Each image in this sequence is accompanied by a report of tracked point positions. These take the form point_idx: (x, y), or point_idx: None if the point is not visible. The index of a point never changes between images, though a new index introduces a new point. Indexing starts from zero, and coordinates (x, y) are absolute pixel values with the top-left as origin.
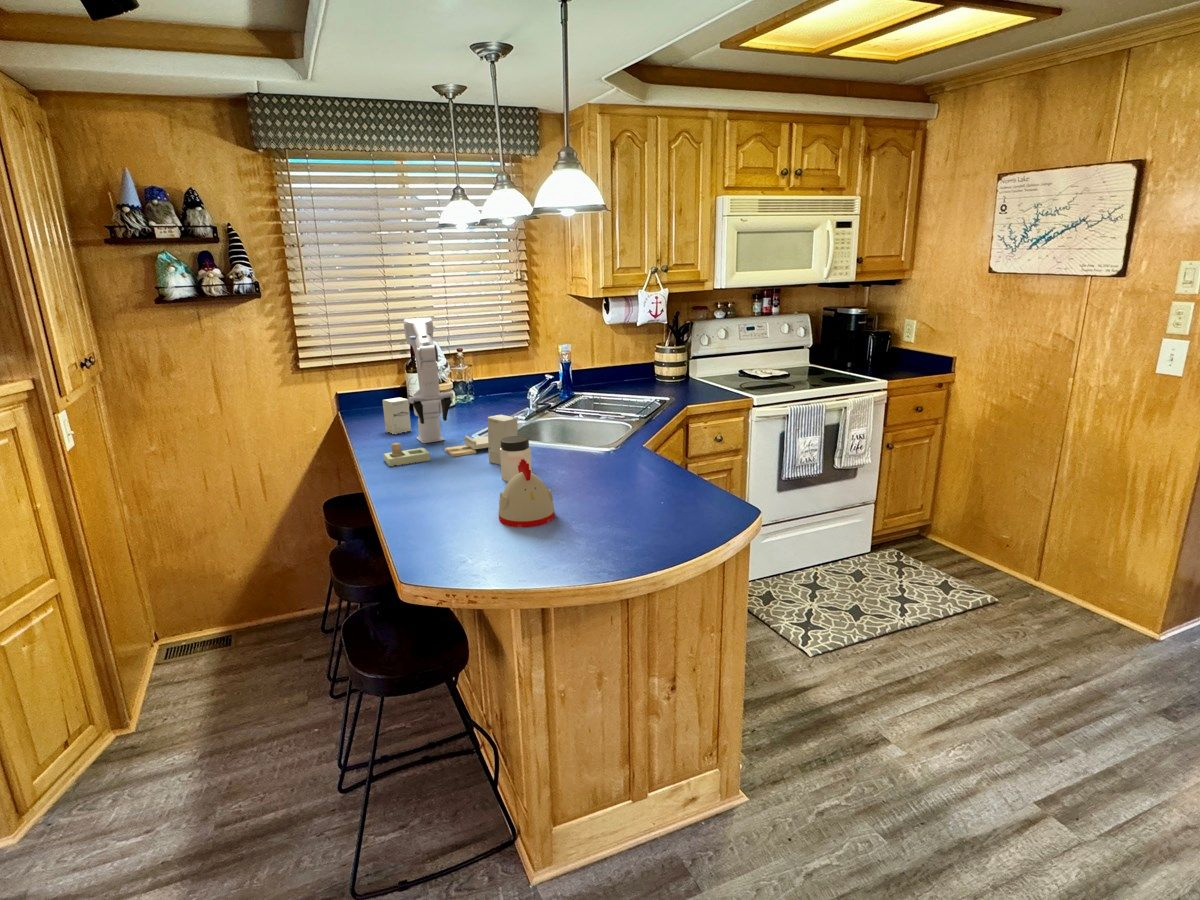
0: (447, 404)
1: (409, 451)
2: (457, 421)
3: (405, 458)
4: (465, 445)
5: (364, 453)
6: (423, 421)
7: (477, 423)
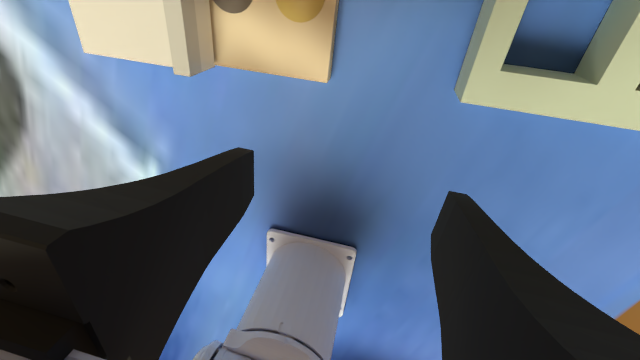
0: (81, 206)
1: (580, 82)
2: (179, 351)
3: None
4: (219, 52)
5: (625, 299)
6: (460, 200)
7: None
